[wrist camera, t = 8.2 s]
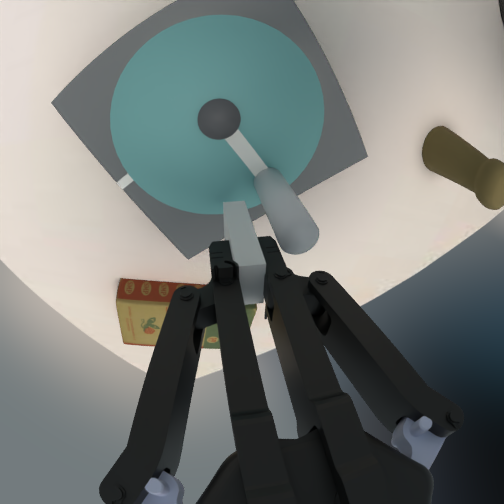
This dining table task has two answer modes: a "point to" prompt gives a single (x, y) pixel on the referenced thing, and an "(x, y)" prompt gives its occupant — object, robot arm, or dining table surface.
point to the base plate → (119, 54)
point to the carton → (155, 311)
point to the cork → (465, 166)
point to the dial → (221, 121)
